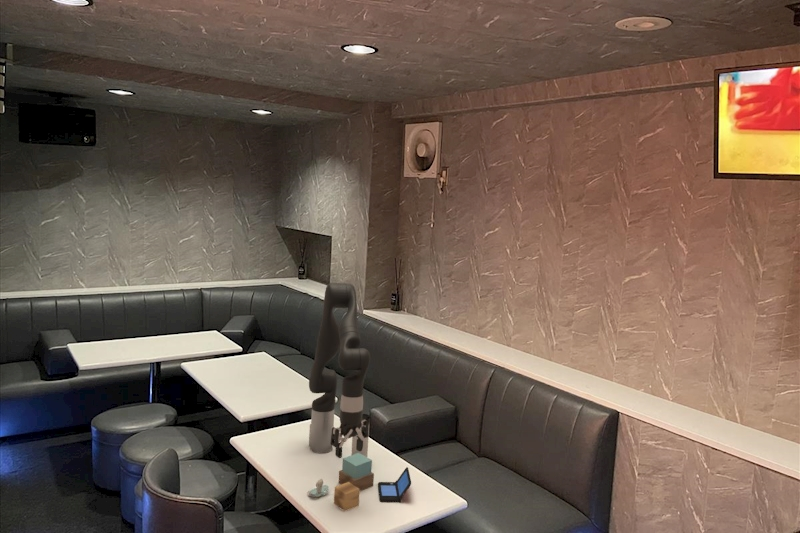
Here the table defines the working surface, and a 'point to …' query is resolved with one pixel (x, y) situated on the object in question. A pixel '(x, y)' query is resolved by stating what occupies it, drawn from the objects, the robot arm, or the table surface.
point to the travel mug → (365, 441)
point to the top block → (357, 466)
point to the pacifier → (318, 489)
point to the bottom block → (357, 480)
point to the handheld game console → (394, 488)
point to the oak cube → (346, 496)
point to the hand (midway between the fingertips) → (349, 453)
